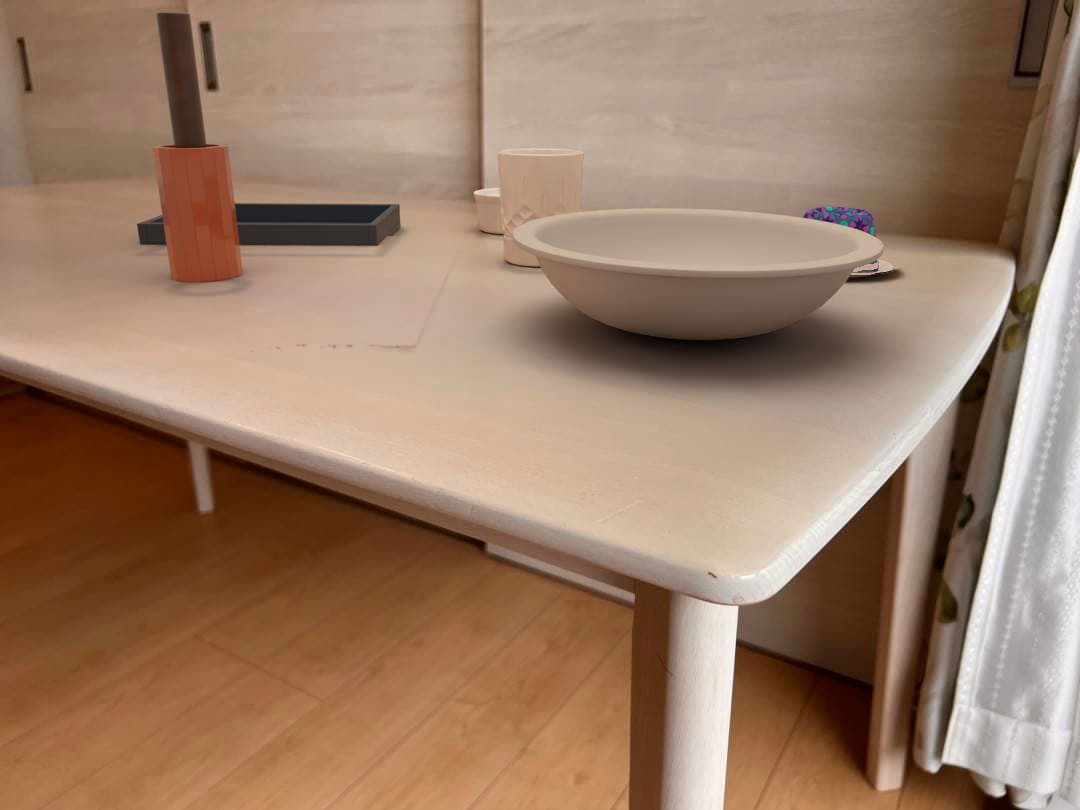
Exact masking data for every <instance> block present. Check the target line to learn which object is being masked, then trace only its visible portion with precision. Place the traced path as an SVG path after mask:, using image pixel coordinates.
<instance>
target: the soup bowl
mask: <svg viewBox="0 0 1080 810" xmlns="http://www.w3.org/2000/svg"><path fill="white" fill-rule="evenodd" d="M512 239H513V242H514V244H515V245H516V246H517V247H519V248H520V249H522V250H524V251H526V252H528V253H530V254H533V255H535V256H536V258H537V260H538V263H539V265H540V266H541V267H540V268H541V270H542V272H543V273H544V275H545V277H546V278H547V280H548V281H549V282H550V284H551V286H553V288H554V289H555V290H556V291H557V292H558V294H560V295H561V296H562V297H563V298H564V299H565V300H566V301H567V302H569V303H570V304H571V305H572V306H573V307H574V308H576V310H578V311H580V312H581V313H583V314H584V315H586V316H588V317H589V318H592V319H594V320H596V321H597V322H600V323H603V324H604V325H607V326H610V327H613V328H616V329H619V330H622V331H626V332H630V333H634V334H638V335H643V336H650V337H654V338H655V337H656V338H662V339H673V340H685V341H686V340H688V341H689V340H690V341H693V340H694V341H718V340H719V341H720V340H732V339H741V338H742V339H743V338H748V337H754V336H759V335H764V334H768V333H772V332H775V331H778V330H781V329H784V328H786V327H789V326H791V325H793V324H795V323H798V322H799V321H800V320H803V319H805V318H807V317H808V316H809V315H811V314H813V313H815V312H816V311H817V310H818V309H820V308H821V307H822V306H823V305H825V304H826V303H827V302H829V300H831V298H833V297H834V296H835V295H836V294H837V293H838V291H839V290H840V289H841V288H842V287H843V286H844V284H845V283H846V282H847V280H848V279H849V278H850V277H849V276H850V275H851V273H852V272H853V270H854V269H855V268H857V267H861V266H864V265H867V264H870V263H872V262H874V261H876V260H877V259H879V258H880V257H881V256H882V255H884V252H885V246H884V244H883V241H881V240H880V239H879V238H878V237H877V236H876V237H874V236H872V235H870V234H868V233H866V232H863V231H860V230H857V229H854V228H851V227H847V226H843V225H839V224H834V223H830V222H825V221H819V220H813V219H807V218H803V217H799V216H793V215H784V214H776V213H767V212H756V211H743V210H730V209H711V208H710V209H709V208H682V207H681V208H678V207H676V208H675V207H673V208H671V207H668V208H667V207H654V208H653V207H649V208H647V207H645V208H615V209H599V210H598V209H597V210H587V211H580V212H575V213H567V214H560V215H554V216H549V217H544V218H540V219H536V220H533V221H530V222H527V223H524V224H522V225H520V226H518V227H517V228H516V229H515V230H514V231H513V234H512Z"/></svg>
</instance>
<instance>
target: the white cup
mask: <svg viewBox="0 0 1080 810" xmlns="http://www.w3.org/2000/svg"><path fill="white" fill-rule="evenodd" d="M584 157H585V152H584V151H582V150H577V149H570V148H569V149H567V148H545V147H543V148H540V147H538V148H532V147H531V148H529V147H528V148H526V147H525V148H507V149H500V150H498V151H497V167H498V188H499V190H500V208H501V213H502V217H501V222H502V229H503V233H504V234H503V258H504V260H505V261H506V262H508V264H512V265H516V266H522V267H538V268H539V267H540V268H541V266H540V265H539V263H538V260H537V258H536V256H535V255H533V254H530V253H528V252H526V251H524V250H522V249H520V248H519V247H517V246H516V245H515V244H514V242H513V239H512V234H513V231H514V230H515V229H516V228H517V227H518V226H520V225H522V224H524V223H527V222H530V221H533V220H536V219H540V218H544V217H549V216H554V215H560V214H567V213H575V212H581V203H582V191H583V190H582V188H583V172H584Z"/></svg>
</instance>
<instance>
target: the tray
mask: <svg viewBox="0 0 1080 810" xmlns="http://www.w3.org/2000/svg"><path fill="white" fill-rule="evenodd" d="M235 210H236V219H237V227H238V236H239V244H240V246H317V247H318V246H321V247H324V246H327V247H329V246H333V247H334V246H337V247H339V246H340V247H341V246H342V247H378V246H379V245H380V244H381V243H382V242H383V241H384V240H385V239H386V237H393V236H394V234H395V233H396V232H397V231H398V230H399V229H400V228H401V225H402V224H401V207H400V203H298V202H297V203H295V202H294V203H288V202H287V203H285V202H284V203H283V202H282V203H280V202H278V203H277V202H274V203H273V202H272V203H271V202H268V203H267V202H265V203H263V202H235ZM136 227H137V234H138V239H139V244H140V246H141V245H145V246H146V245H150V246H153V245H155V246H157V245H158V246H159V245H162V246H167V243H166V237H165V230H164V223H163V216H162V214H159V215H158V216H155V217H152V218H150V219H146V220H143V221H141V222H138V223H136Z"/></svg>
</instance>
